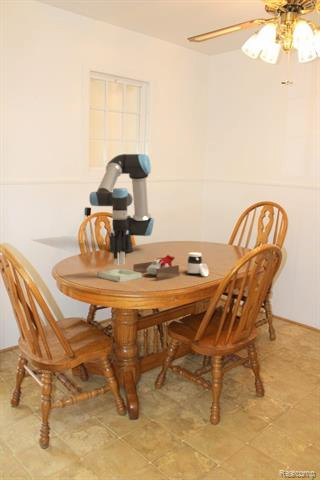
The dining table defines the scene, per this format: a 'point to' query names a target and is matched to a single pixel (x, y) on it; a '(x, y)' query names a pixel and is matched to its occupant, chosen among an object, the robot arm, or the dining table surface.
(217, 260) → the dining table surface
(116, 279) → the sage tray
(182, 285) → the dining table surface
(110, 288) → the dining table surface
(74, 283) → the dining table surface
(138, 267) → the walnut holder
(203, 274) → the spread jar
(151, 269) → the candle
